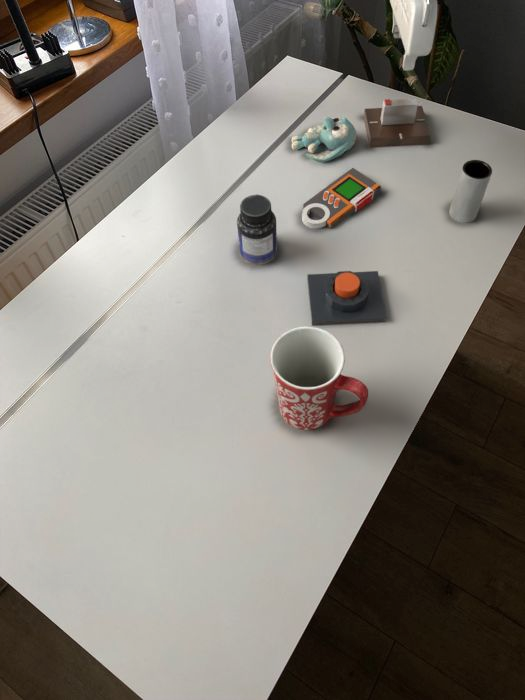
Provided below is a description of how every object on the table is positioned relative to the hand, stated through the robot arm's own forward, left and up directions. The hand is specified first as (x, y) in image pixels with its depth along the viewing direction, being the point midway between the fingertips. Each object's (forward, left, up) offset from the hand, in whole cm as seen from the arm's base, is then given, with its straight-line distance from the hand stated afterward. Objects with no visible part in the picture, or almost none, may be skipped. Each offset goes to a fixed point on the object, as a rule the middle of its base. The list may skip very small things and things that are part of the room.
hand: (402, 51), depth 99 cm
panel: (-2, -2, -18) cm, 18 cm away
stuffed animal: (+12, +1, -18) cm, 22 cm away
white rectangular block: (-2, -2, -15) cm, 15 cm away
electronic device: (+11, +17, -18) cm, 27 cm away
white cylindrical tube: (-9, +21, -18) cm, 29 cm away
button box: (+12, +38, -18) cm, 44 cm away
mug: (+18, +57, -18) cm, 63 cm away
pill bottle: (+25, +27, -18) cm, 41 cm away
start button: (+12, +38, -14) cm, 43 cm away
